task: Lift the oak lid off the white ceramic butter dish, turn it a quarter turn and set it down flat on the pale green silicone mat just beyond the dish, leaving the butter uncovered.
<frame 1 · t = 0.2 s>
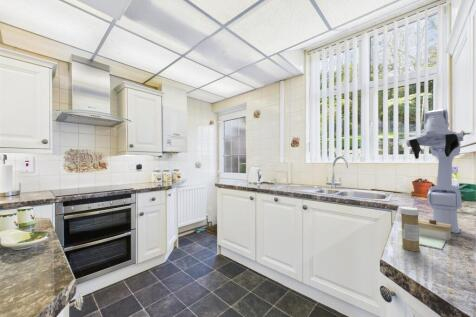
hand: (430, 155, 68), 31 cm above the counter, tool tilted 45°, fingers open, 7 cm apart
mat: (429, 242, 70), on the counter
lid: (433, 228, 76), point 3 cm above the counter, touching butter dish
sprinkles bottle: (411, 249, 65), on the counter
butter dish: (433, 236, 76), on the counter
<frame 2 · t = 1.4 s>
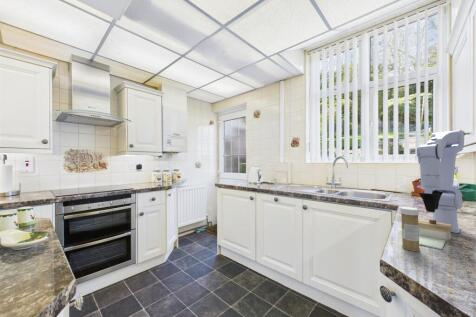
hand: (432, 210, 76), 10 cm above the counter, tool pointing down, fingers open, 7 cm apart
nothing on the counter moved.
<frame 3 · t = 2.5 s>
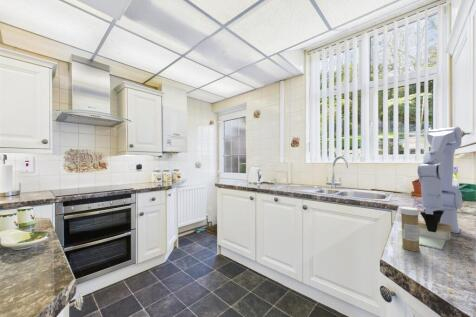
hand: (433, 230, 76), 2 cm above the counter, tool pointing down, fingers closed on lid, 5 cm apart
lid: (433, 228, 76), point 3 cm above the counter, touching butter dish, gripper
everything else where it was.
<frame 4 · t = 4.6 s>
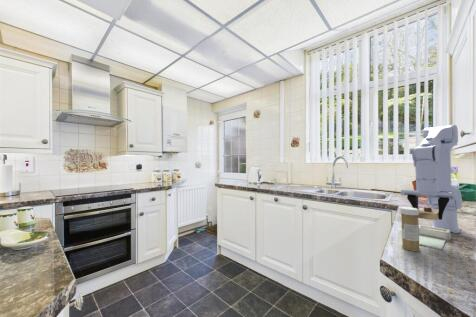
hand: (428, 217, 70), 9 cm above the counter, tool pointing down, fingers closed on lid, 5 cm apart
lid: (428, 216, 70), point 9 cm above the counter, touching gripper
everything else where it was.
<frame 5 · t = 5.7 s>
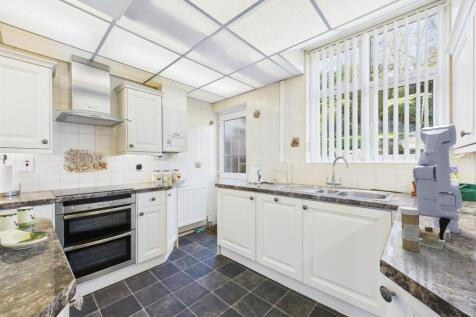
hand: (429, 237, 70), 2 cm above the counter, tool pointing down, fingers closed on lid, 5 cm apart
lid: (429, 236, 70), point 2 cm above the counter, touching gripper
everything else where it was.
when the fingers open (1 cm above the counter, at t = 6.4 s): lid drops 1 cm, resting on mat.
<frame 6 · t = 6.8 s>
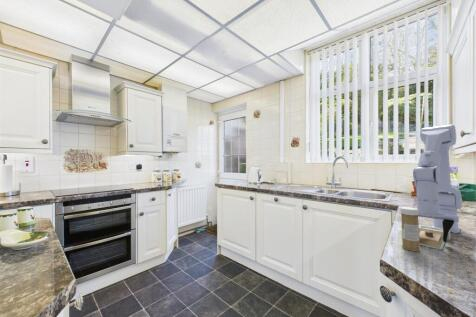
hand: (429, 238, 70), 1 cm above the counter, tool pointing down, fingers open, 7 cm apart
lid: (429, 241, 70), resting on mat
everything else where it was.
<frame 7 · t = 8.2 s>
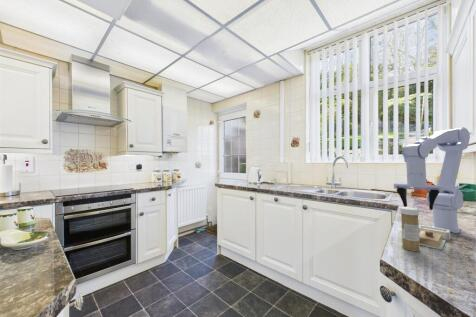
hand: (417, 207, 79), 10 cm above the counter, tool pointing down, fingers open, 7 cm apart
nothing on the counter moved.
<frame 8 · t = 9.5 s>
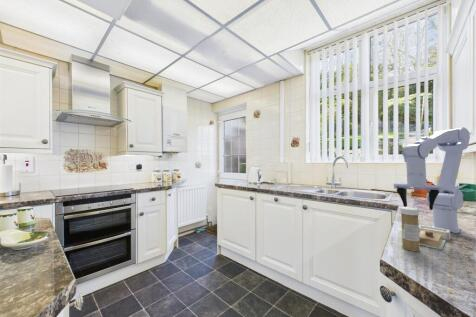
hand: (417, 207, 79), 10 cm above the counter, tool pointing down, fingers open, 7 cm apart
nothing on the counter moved.
at the end: lid inside the target area on the mat (0.1 cm from its centre), point 0.4 cm above the mat's base; lid tilted 0°; the gripper is holding nothing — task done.
